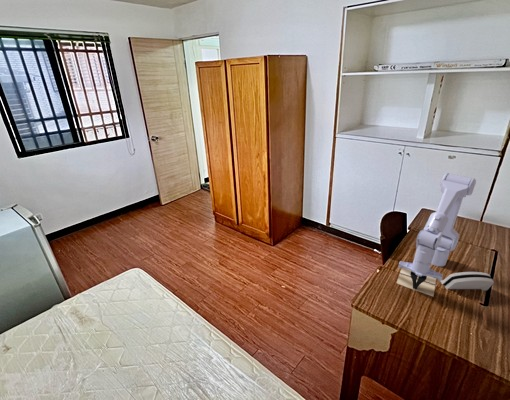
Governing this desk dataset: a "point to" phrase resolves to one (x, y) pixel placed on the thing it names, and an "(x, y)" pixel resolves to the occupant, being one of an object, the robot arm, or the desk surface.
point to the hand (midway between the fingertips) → (415, 287)
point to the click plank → (421, 288)
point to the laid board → (428, 279)
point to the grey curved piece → (468, 281)
